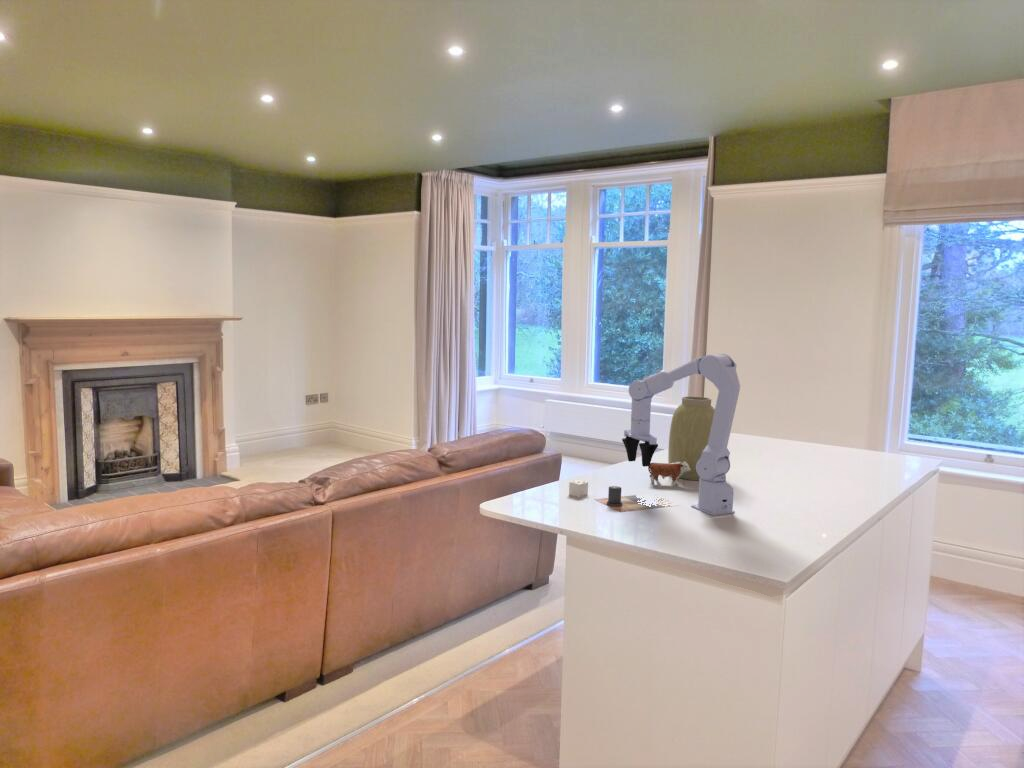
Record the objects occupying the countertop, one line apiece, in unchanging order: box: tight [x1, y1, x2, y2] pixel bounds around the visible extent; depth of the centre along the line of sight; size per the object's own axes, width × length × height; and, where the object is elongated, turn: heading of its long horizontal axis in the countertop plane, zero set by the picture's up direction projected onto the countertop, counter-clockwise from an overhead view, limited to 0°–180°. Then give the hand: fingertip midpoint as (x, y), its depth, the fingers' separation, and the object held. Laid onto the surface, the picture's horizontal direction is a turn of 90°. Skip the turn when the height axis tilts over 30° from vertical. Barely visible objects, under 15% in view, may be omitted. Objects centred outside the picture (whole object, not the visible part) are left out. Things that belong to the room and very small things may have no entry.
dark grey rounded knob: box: [606, 485, 622, 507], centre depth 203 cm, size 4×4×5 cm
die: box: [568, 479, 589, 498], centre depth 214 cm, size 4×4×4 cm
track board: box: [594, 494, 673, 513], centre depth 206 cm, size 14×20×1 cm
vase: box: [667, 396, 715, 481], centre depth 241 cm, size 17×17×27 cm
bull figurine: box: [647, 461, 691, 487], centre depth 228 cm, size 4×13×8 cm, turn 79°
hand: (638, 463), depth 216 cm, fingers open, 7 cm apart
